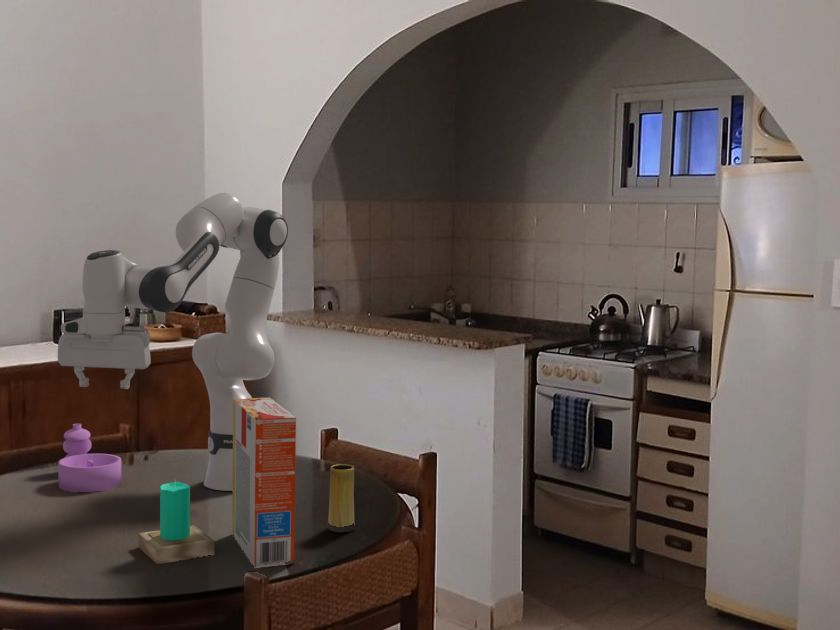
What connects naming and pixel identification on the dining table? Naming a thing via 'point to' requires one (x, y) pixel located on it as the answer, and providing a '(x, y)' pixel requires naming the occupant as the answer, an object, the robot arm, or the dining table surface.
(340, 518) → the vase
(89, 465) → the container set
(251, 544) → the cereal box
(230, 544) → the dining table surface
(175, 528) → the candle
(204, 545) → the base block
